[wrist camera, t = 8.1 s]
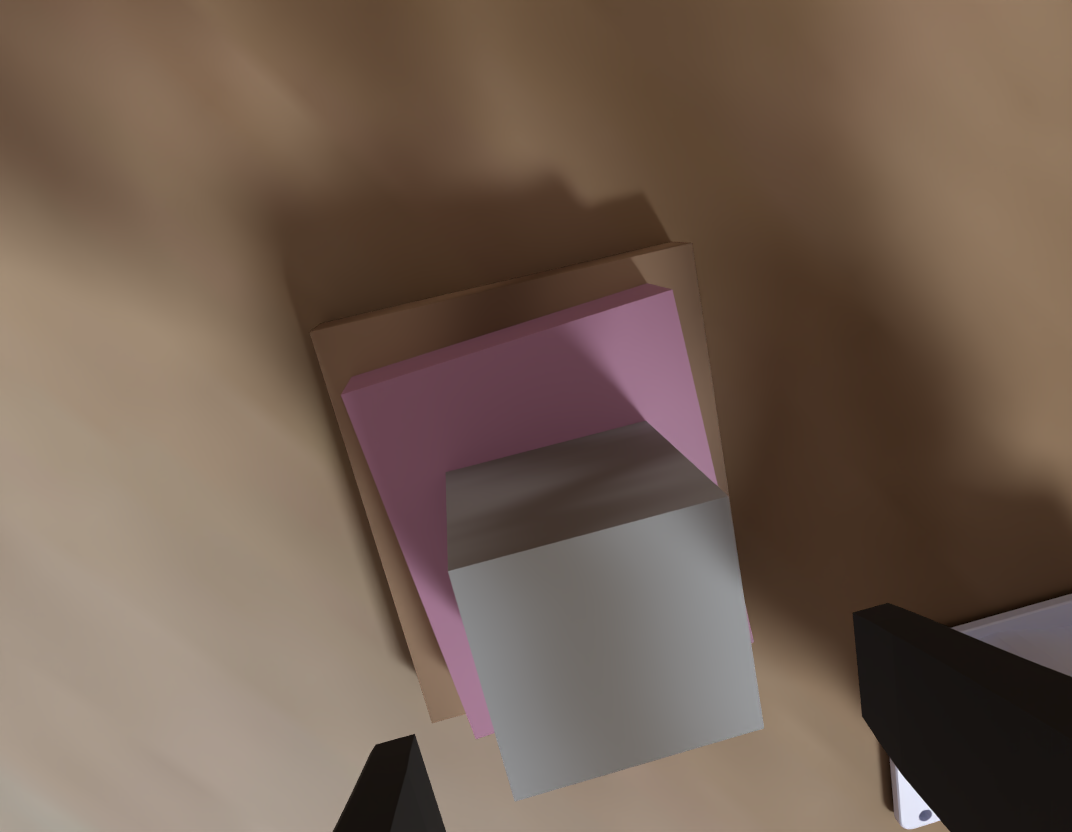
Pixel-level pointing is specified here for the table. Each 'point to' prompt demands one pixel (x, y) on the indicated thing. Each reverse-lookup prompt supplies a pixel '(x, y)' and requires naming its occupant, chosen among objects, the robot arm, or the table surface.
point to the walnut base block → (469, 316)
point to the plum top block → (515, 424)
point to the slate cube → (600, 606)
